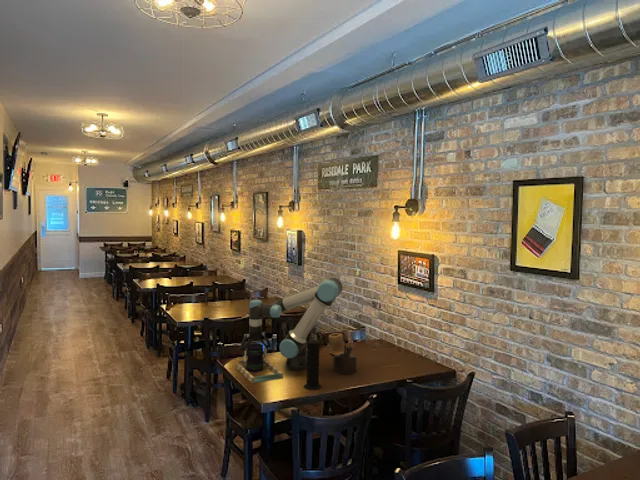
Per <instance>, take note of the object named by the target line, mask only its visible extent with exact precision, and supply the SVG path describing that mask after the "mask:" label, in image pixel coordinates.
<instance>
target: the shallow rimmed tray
mask: <svg viewBox="0 0 640 480" xmlns="http://www.w3.org/2000/svg"><path fill="white" fill-rule="evenodd" d="M247 361H248V358H246V362H244V361H243V359H238V362H237V363H236V364H235V365H236V369H237V371H239V372H240V373H241V374H242V375H243V376H244V377H245V378H246V379H247V380H248V381H249V382H250V383H251V384H257V383H262V382H269V381H276V380H281V379H284V373H283V372H282V371H281V370H279V369H278V368H276V367H275V366H274V365H273V364H271V363H270V362H269V361H268V360H267V359H265V358H264V356H263V367H265V368H266V369H268V370H269V371H270V372H271V373H270V374H265V375H257V376H253V375H252V374H251V372H249V371H247Z"/></svg>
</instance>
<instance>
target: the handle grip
mask: <svg viewBox="0 0 640 480" xmlns="http://www.w3.org/2000/svg"><path fill="white" fill-rule="evenodd" d="M319 379H320V341H319V340H316V339H311V340H307V369H306V383H305V384H304V385H303V388H304V389H306V390H307V391H317V390H321V389H322V388H323V387H322V385H321V384H320V383H319V381H320V380H319Z"/></svg>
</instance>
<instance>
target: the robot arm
mask: <svg viewBox="0 0 640 480" xmlns="http://www.w3.org/2000/svg"><path fill="white" fill-rule="evenodd" d="M342 291H343V284H342V282H341V281H340V280H339V279H338V278H336V277H331V278H328V279H326V280H324V281H321V283H319V285H317V286H314V287H312V288H309V289H306V290H303V291H300V292H298V293H295V294H293V295H290V296H288V297H284V298H282V299H277V300H275V301H274V302H272V303H269V304H267V303H263V302H262V300H260V299H252V300H250V301H249V306H248V309H249V310H248V311H249V312H248V313H249V314H248V315H249V318H248V319H249V323H248V324H249V327H248V333H247V334H246V333H244V334H243V338H242V341H241V343H240V345H239V346H238V347H239V348H238V350H239V351H241V356H242V357H243V359H242V360H243V361H244V362H246V359H247V347H248V346H249V344H252V342H255V341H257V342H258V341H260V344H262V345H263V357H264V360H267V354H268V352H269V349H270V348H271V347H272V345H271V343H270V341H269V337H268V336H267V332H266V331H262V328H263V327H262V323H263V321H262V318H263V317H265V318H280V317H281V314H282V313H284V312H285V311H288V310H291V309H294V308H296V307H300V306H301V305H305V304H308V303H310V302H311V303H310V305H309V306H308V308H307V309H306V311H305V312H304V314H303V315H302V317H301V318H300V320H299V321H298V323H297V324H296V326H295V327H294V329H291V330H289V331H288V333H287V335H285V338H284V339H283V340H281V341H280V343H279V352H280V354H281V356H283V357H284V358H286V360H285V365H284V366H285V368H286V369H288V370H291V371H304V370H307V341H308V335H309V334H310V332H311V330H313V328H314V326H315V325H316V323H317V322H318V320H320V317H321V316H322V315H323V313H324V312H325V310H326V309H327V308H329V307H331V306H332V305H333V303H334V302H335V300H336V299H337V297H338V296H340V295H341V294H342ZM262 336H263V338H264V340H265V341H264V340H263V339H262ZM247 339H248V340H247ZM265 342H266V343H265Z"/></svg>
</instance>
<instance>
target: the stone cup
mask: <svg viewBox="0 0 640 480" xmlns="http://www.w3.org/2000/svg"><path fill="white" fill-rule="evenodd" d="M328 342H329V345H330V346H331V350H330V351H329V354H331V355H333V356H335V355H340V354H342V353H344V335H343V334H342V333H340V332H339V333H338V332H336V333H335V332H334V333H331V334H329V335H328ZM350 355H352V353H351V354H350Z"/></svg>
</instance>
